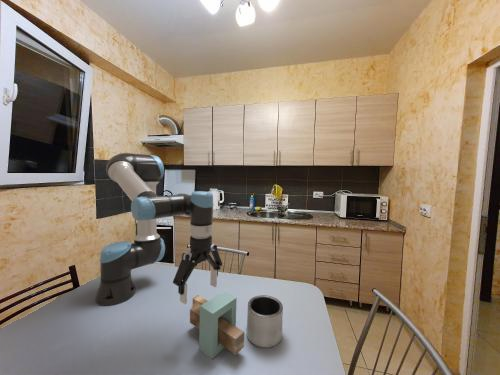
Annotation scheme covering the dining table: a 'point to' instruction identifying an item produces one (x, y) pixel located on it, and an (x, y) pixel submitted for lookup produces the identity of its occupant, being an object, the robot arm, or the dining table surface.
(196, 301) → the rail
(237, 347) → the brown wooden long bar
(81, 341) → the dining table surface
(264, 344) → the planter
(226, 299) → the green rectangular frame
